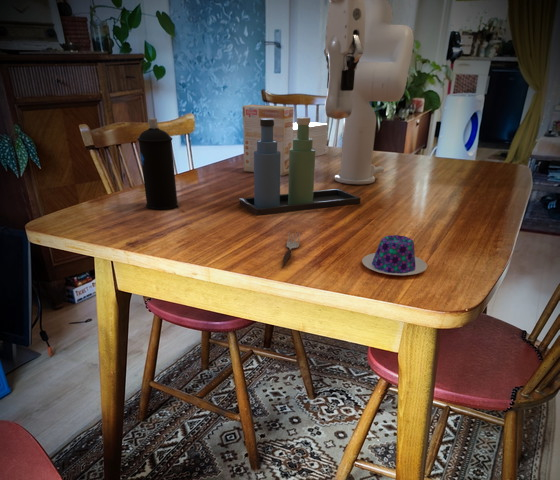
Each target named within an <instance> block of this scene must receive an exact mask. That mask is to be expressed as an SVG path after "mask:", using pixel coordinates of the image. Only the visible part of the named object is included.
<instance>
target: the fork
mask: <svg viewBox="0 0 560 480" xmlns="http://www.w3.org/2000/svg"><path fill="white" fill-rule="evenodd" d="M297 234H298V233H297V232H295V237H294V234H292V235H291V232H289V233H288V238H287V240H286V241H287V242H286V245H285V246H286V247H285V248H287V249H288V250H287V251H286V252H285V254H284V257H283V263H282V267H284V266H286V265H287V263H288V261H289V260H290V258H291V256H292V250H293V249H298V248H299V247H300V239H301V237H300V236H301V233H299V234H298V238H297ZM290 237H291V240H290Z"/></svg>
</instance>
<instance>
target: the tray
mask: <svg viewBox="0 0 560 480" xmlns="http://www.w3.org/2000/svg"><path fill="white" fill-rule="evenodd" d="M238 200H239V206H240V207H242V208H244V209H245V210H246V211H248V212H249V213H251V214H253V215H254V216H256V217H260V216H261V217H262V216H268V215H278V214H286V213H294V212H303V211H311V210H319V209H320V210H321V209H329V208H338V207H345V206H346V207H347V206H353V205H354V206H355V205H361V197H359V196H357V195H355V194H352V193H350V192H348V191H345V190H342V189H341V188H331V189H323V190H322V189H321V190H313V202H311V203H302V204H293V205H288V193H282V194H281V193H280V206H275V207H266V208H257V207H255V206H254V196H253V197H241V198H239V199H238Z"/></svg>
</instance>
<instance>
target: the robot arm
mask: <svg viewBox="0 0 560 480" xmlns="http://www.w3.org/2000/svg"><path fill="white" fill-rule="evenodd" d="M328 2H329V5H328V10H327V18H326V28H325V39H324V40H325V41H324V42H325V43H324V44H325V46H324V49H323V54H324V57H325V61H326V68H327V69H326V70H327V79H326V80H327V81H326V82H327V83H326V88H327V89H328V85H329V54H328V53H329V51H328V46H329V42H330V40H331V39H332V37H333V36H336V37H337V38H338V40H339V42H340V47H341V51H340V53H341V54H342V55H344V56H343V57H344V58H343V65H344V70H342V76H341V91H352V96H351V97H352V103H353V108H352V113H351V115H350V116H349V117H348V118H344V119H343V130H342V140H341V141H342V143H341V157H340V169H339V173H337V174H334V180H335V181H336V182H338V183H340V184H345V185H370V184H373V183H375V181H376V177H375V174H383V173H384V171H385V167H384V166H382V165H381V166H375V165H374V164H372V163H373V153H374V147H375V146H374V145H375V138H376V128H377V115H376V112H375V111H374V109H373V107H372V105H371V104H370V102H380V103H381V102H382V103H383V102H384V103H388V102H389V103H394V102H395V103H396V102H398V101H400V100H401V99H402V98H403V96H404V94H405V91H406V87H407V81H408V76H409V71H410V67H411V62H412V56H413V51H414V43H415V42H414V41H415V40H414V38H415V36H414V31H413V30H412V28H411V27H410V26H408V25H406V24H392V20H393V16H394V13H393V8H392V6H391V4H390V2H389V0H328ZM349 49H353V50H354V52H353V54H352V53H348V52H349ZM348 57H350V59H349V61H348Z"/></svg>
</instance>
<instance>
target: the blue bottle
mask: <svg viewBox="0 0 560 480" xmlns="http://www.w3.org/2000/svg"><path fill="white" fill-rule="evenodd" d="M260 126H261V140H258V141H257V151H254V172H253V197H254V206H255V207H257V208H266V207H275V206H280V195H281V176H280V157H281V152H279V151H277V141H276V140H273V126H274V119H270V118H263V119H260Z"/></svg>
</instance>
